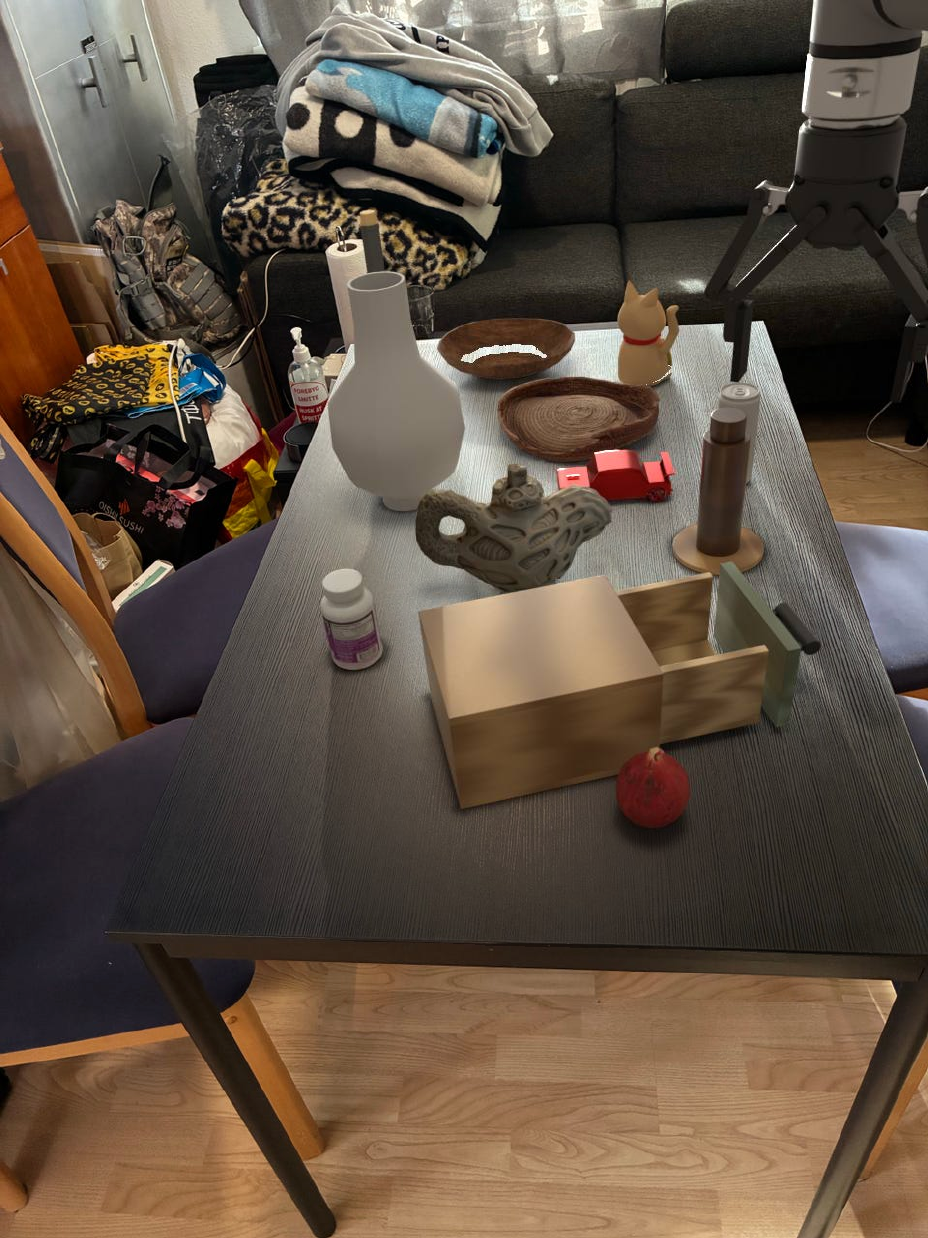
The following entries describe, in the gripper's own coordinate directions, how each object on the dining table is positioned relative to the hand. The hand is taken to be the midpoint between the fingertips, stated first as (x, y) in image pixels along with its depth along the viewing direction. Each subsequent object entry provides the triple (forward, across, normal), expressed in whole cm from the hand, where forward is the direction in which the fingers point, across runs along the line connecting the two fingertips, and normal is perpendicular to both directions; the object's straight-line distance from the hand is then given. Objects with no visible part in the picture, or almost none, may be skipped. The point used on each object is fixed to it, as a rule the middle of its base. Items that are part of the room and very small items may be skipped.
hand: (815, 386), depth 83 cm
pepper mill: (+24, -9, +8) cm, 26 cm away
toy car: (+24, -25, +14) cm, 38 cm away
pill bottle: (+24, -37, -25) cm, 51 cm away
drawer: (+23, -4, -17) cm, 29 cm away
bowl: (+24, -56, +45) cm, 76 cm away
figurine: (+24, -33, +48) cm, 63 cm away
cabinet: (+24, -15, -27) cm, 39 cm away
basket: (+24, -36, +29) cm, 52 cm away
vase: (+24, -49, +4) cm, 55 cm away
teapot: (+24, -27, -7) cm, 37 cm away
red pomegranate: (+24, -2, -32) cm, 41 cm away
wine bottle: (+24, -62, +22) cm, 70 cm away
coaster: (+24, -9, +8) cm, 27 cm away
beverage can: (+24, -13, +23) cm, 36 cm away
